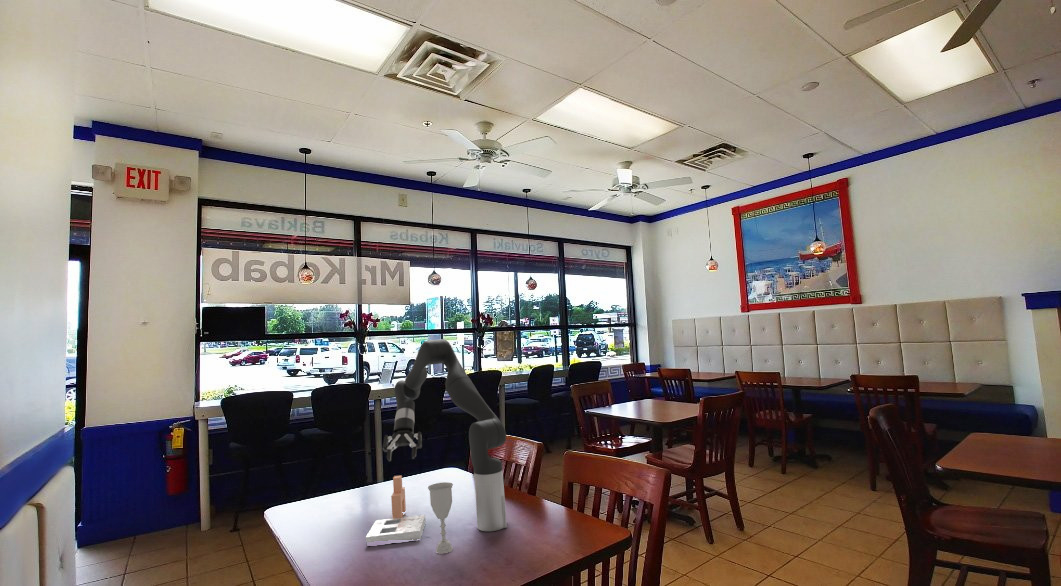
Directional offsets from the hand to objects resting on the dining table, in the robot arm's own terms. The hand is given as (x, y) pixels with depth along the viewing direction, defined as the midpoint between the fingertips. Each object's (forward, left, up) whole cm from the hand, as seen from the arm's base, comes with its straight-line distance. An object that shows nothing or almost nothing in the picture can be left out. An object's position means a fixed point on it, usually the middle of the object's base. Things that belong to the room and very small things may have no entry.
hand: (401, 458), depth 182 cm
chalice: (-18, +41, -18) cm, 48 cm away
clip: (0, +9, -18) cm, 20 cm away
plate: (-2, +25, -18) cm, 31 cm away
